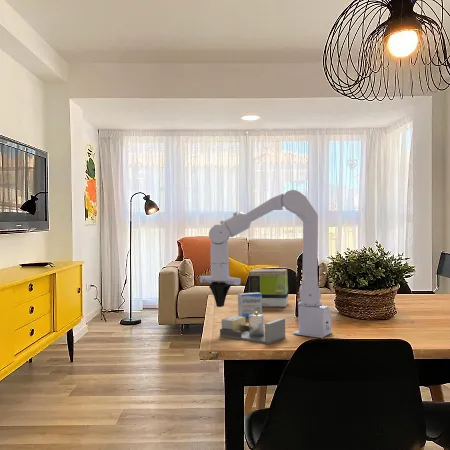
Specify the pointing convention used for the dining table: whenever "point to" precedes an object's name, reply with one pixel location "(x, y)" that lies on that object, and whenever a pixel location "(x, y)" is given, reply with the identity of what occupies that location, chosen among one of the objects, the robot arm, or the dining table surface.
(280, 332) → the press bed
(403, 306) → the dining table surface
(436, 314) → the dining table surface
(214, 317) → the dining table surface
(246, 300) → the medicine box
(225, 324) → the block
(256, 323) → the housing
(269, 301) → the tea box
